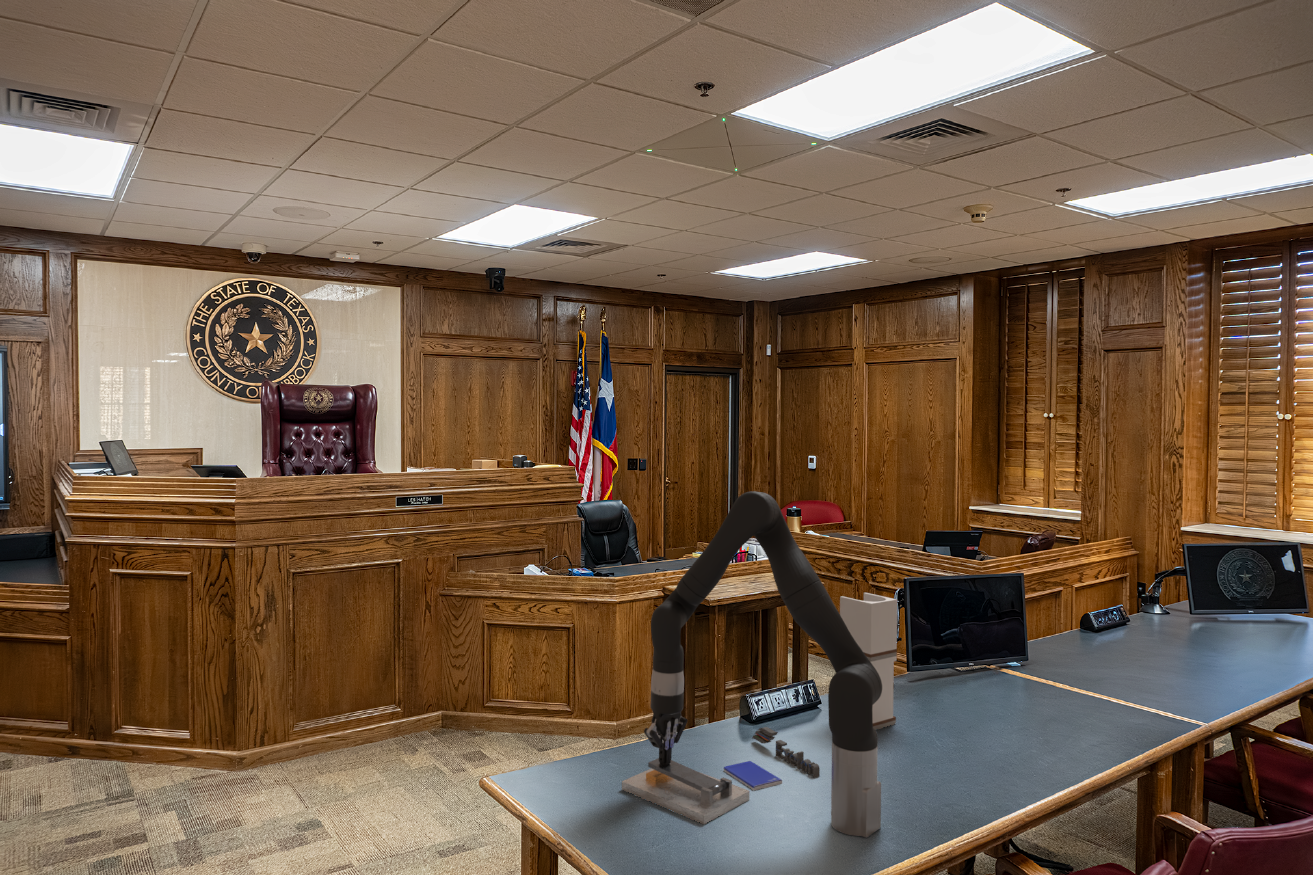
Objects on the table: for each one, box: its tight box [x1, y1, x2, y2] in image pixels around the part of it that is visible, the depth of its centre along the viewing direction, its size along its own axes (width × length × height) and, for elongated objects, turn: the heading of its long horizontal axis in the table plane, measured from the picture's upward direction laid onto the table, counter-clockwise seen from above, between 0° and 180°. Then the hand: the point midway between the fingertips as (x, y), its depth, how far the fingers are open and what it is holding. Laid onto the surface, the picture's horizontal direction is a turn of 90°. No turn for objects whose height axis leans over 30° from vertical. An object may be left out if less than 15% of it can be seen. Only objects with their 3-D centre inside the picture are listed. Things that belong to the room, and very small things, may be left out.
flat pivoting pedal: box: [647, 757, 727, 796], centre depth 186 cm, size 19×5×2 cm, turn 48°
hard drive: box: [723, 760, 783, 791], centre depth 196 cm, size 2×8×12 cm
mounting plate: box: [621, 768, 750, 825], centre depth 186 cm, size 24×16×5 cm, turn 48°
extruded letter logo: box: [751, 726, 821, 779], centre depth 208 cm, size 25×2×6 cm, turn 29°
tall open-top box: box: [839, 592, 898, 731], centre depth 234 cm, size 11×11×35 cm
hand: (665, 763), depth 190 cm, fingers closed
